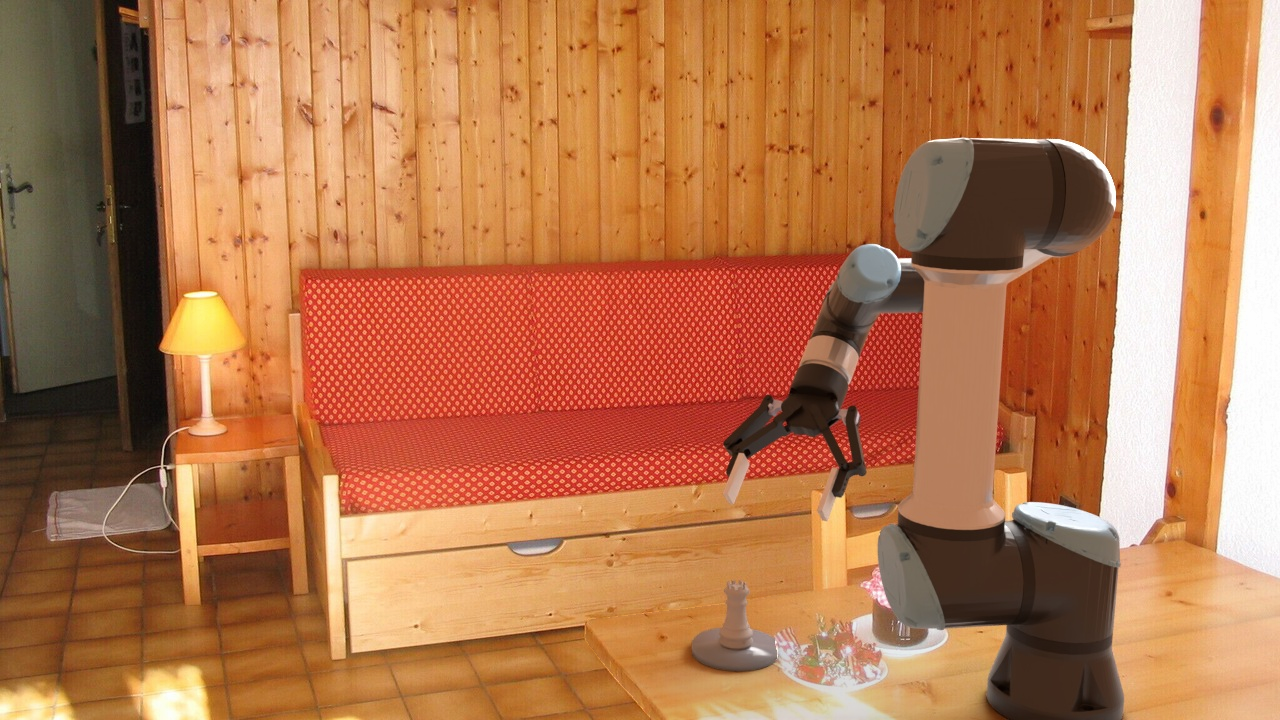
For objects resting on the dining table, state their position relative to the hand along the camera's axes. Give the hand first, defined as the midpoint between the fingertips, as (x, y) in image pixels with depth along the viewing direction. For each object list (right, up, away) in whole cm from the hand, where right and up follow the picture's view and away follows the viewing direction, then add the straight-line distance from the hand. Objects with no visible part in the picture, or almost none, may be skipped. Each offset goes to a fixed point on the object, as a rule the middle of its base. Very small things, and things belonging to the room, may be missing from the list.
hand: (774, 507), depth 167 cm
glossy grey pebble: (-6, -18, -6) cm, 20 cm away
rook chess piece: (-5, -17, -6) cm, 19 cm away
